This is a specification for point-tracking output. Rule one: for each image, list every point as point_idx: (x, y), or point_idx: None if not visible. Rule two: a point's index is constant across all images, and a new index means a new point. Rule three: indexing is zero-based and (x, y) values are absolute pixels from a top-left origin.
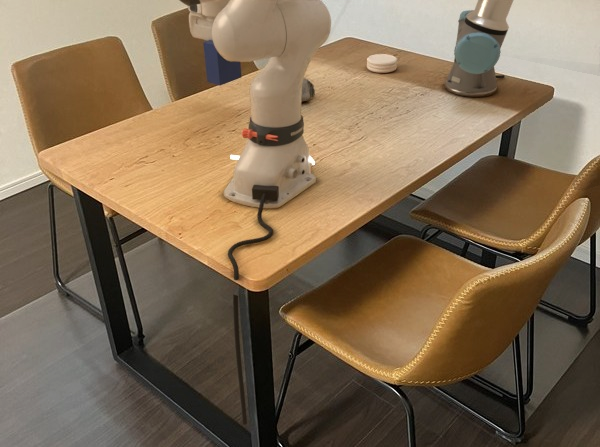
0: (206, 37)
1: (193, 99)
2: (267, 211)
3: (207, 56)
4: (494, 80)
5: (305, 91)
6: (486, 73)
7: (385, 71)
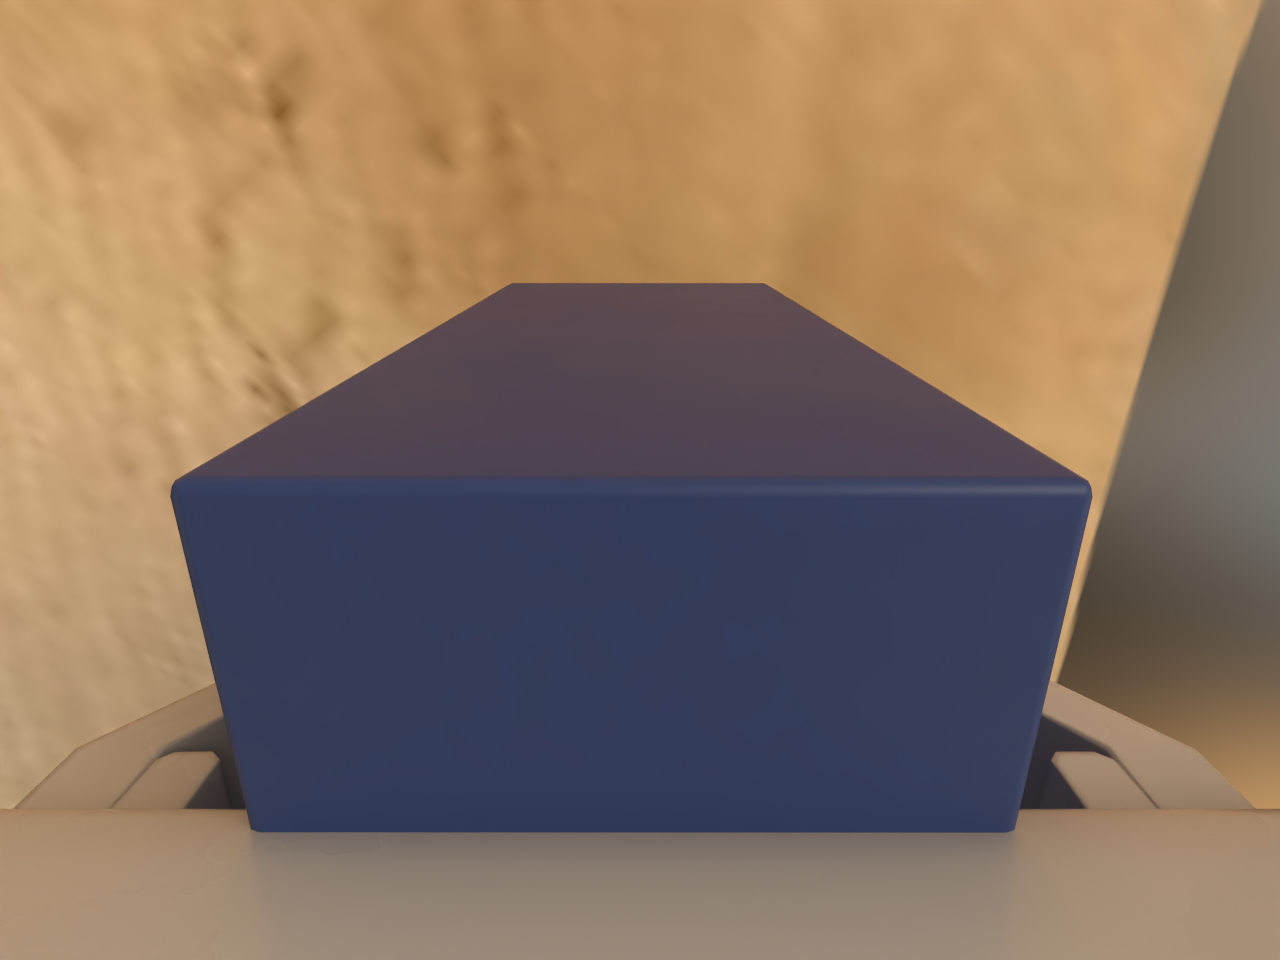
0: (1247, 887)
1: (1081, 411)
2: None
3: (769, 353)
4: None
5: None
6: None
7: None
